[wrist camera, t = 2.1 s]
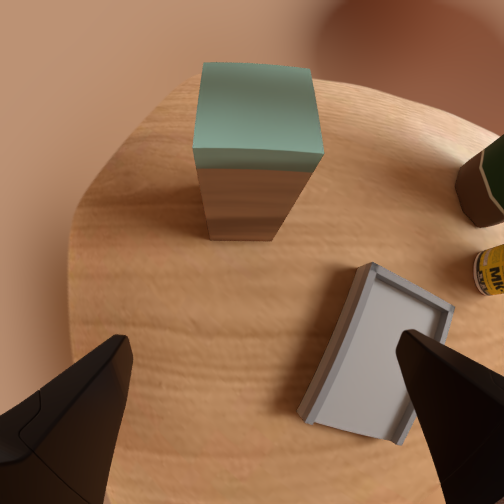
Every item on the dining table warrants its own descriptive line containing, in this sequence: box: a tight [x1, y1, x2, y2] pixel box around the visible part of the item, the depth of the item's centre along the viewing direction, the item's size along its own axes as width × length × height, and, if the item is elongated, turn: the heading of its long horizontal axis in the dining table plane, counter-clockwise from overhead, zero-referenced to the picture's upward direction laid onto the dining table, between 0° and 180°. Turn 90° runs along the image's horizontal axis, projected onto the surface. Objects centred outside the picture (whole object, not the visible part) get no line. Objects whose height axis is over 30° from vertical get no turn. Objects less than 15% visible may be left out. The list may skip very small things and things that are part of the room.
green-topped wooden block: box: [193, 62, 324, 241], centre depth 16 cm, size 4×4×12 cm
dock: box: [296, 262, 455, 446], centre depth 19 cm, size 12×9×2 cm
